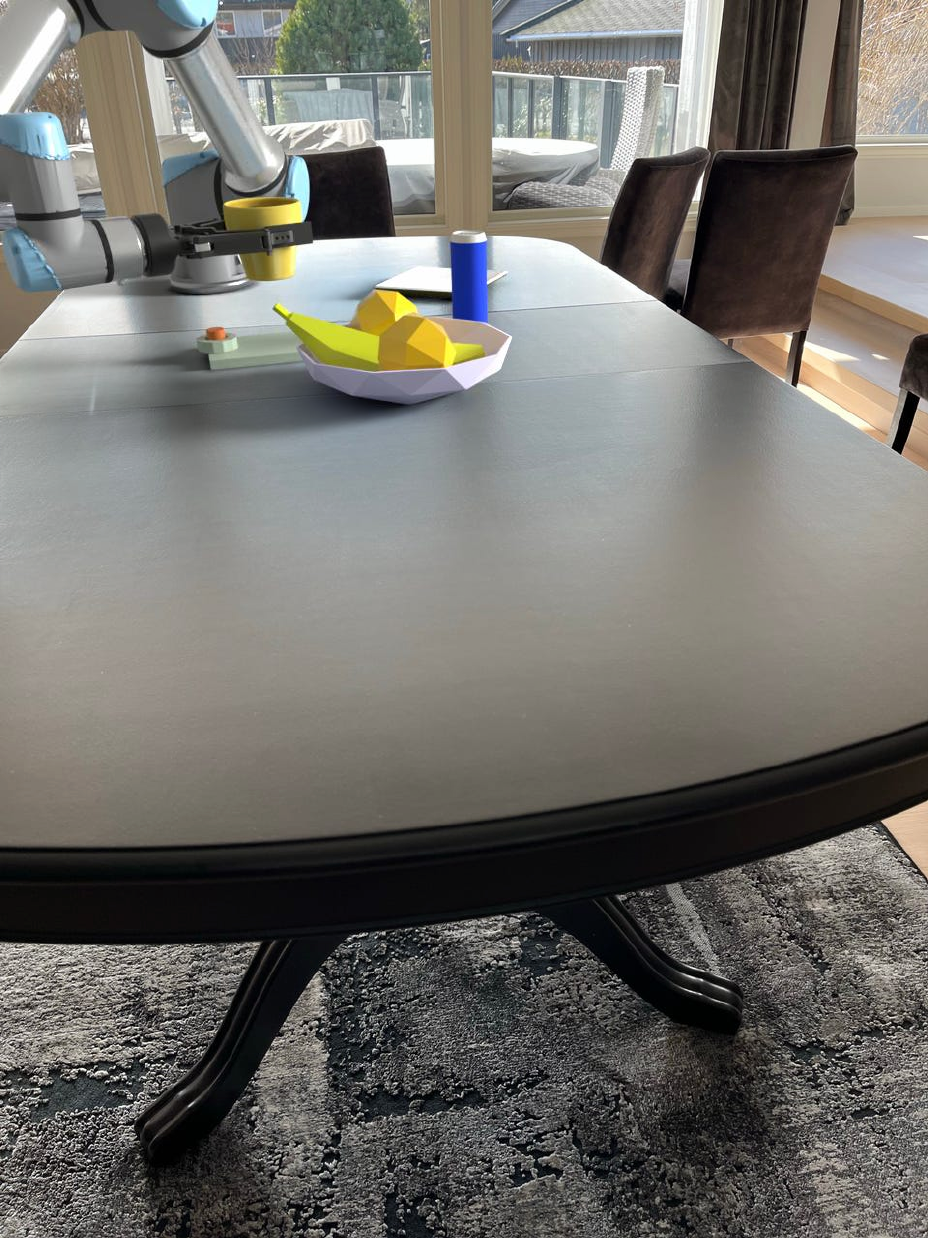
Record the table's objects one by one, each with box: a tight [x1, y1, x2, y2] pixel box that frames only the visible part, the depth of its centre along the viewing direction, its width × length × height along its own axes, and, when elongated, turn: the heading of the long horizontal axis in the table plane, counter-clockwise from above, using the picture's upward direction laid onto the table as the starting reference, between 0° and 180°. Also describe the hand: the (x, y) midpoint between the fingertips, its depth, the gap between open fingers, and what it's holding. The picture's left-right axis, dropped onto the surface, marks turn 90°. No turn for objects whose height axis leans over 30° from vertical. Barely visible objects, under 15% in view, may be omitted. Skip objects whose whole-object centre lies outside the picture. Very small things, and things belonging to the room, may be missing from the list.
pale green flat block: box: [196, 330, 304, 371], centre depth 136 cm, size 12×17×3 cm
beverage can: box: [449, 229, 489, 324], centre depth 136 cm, size 5×5×15 cm
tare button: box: [205, 326, 226, 340], centre depth 134 cm, size 3×3×2 cm
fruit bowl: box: [272, 288, 513, 406], centre depth 118 cm, size 28×27×11 cm
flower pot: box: [223, 197, 302, 282], centre depth 130 cm, size 10×10×10 cm
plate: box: [373, 266, 509, 300], centre depth 171 cm, size 19×19×2 cm
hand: (292, 227), depth 131 cm, fingers closed on flower pot, 10 cm apart
